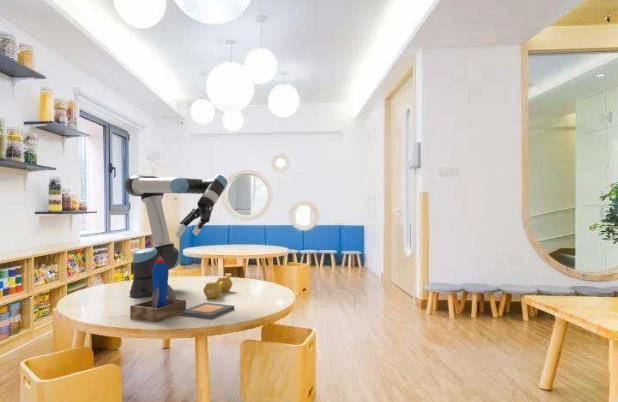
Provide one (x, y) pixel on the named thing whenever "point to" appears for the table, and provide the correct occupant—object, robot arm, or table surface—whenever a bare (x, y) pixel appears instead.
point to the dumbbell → (217, 287)
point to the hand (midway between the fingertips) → (185, 235)
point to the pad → (207, 310)
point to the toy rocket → (161, 285)
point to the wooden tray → (156, 310)
